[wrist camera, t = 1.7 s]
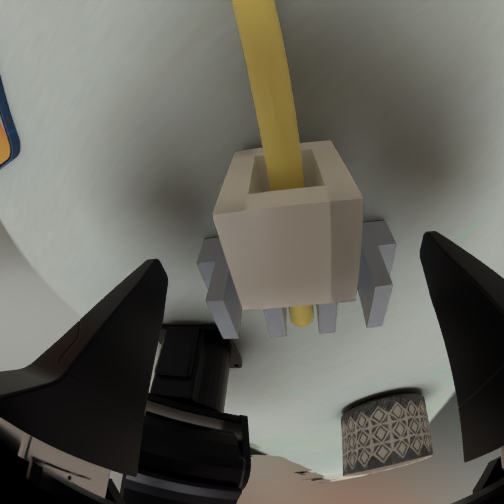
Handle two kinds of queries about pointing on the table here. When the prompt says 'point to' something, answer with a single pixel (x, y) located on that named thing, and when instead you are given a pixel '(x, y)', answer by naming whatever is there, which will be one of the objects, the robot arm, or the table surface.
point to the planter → (385, 434)
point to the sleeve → (291, 231)
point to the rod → (272, 103)
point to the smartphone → (7, 132)
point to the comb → (370, 291)
